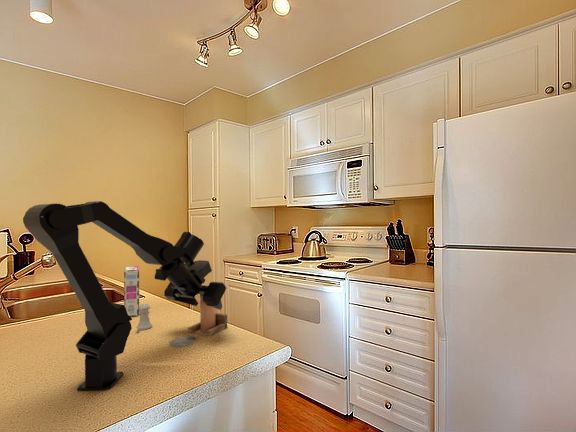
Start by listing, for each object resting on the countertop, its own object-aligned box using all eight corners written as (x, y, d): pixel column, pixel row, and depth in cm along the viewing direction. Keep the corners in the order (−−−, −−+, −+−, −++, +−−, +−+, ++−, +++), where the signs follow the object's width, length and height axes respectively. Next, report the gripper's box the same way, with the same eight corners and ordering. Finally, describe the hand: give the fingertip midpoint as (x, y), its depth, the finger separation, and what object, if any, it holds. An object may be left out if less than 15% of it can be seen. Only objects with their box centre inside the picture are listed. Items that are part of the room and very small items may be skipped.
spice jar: (214, 332, 94) (214, 294, 94) (198, 333, 93) (198, 294, 93) (217, 327, 98) (216, 291, 98) (201, 327, 98) (201, 291, 98)
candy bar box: (139, 316, 114) (139, 269, 114) (123, 318, 112) (123, 270, 112) (139, 308, 124) (139, 265, 124) (125, 310, 122) (124, 266, 122)
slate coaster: (193, 350, 84) (193, 345, 84) (165, 351, 83) (165, 346, 83) (199, 340, 91) (199, 335, 91) (173, 341, 90) (173, 336, 90)
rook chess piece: (146, 334, 96) (146, 307, 96) (133, 333, 97) (132, 306, 97) (155, 329, 100) (155, 303, 100) (142, 328, 101) (142, 302, 101)
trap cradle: (209, 340, 90) (209, 322, 90) (188, 335, 94) (187, 318, 94) (227, 331, 97) (227, 314, 97) (206, 327, 101) (206, 311, 101)
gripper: (221, 253, 87) (245, 286, 97) (171, 251, 96) (197, 281, 105) (201, 288, 80) (229, 319, 90) (149, 282, 89) (180, 311, 98)
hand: (208, 306), depth 96 cm, fingers open, 9 cm apart
